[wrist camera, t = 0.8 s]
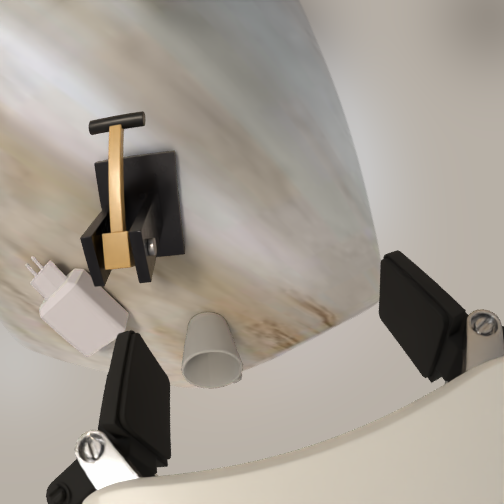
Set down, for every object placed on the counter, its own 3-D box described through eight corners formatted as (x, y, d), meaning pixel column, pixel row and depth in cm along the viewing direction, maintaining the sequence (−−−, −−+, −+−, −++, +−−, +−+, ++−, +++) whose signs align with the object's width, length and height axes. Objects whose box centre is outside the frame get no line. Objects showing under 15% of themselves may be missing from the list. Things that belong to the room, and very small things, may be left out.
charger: (54, 231, 31) (130, 310, 38) (21, 269, 32) (91, 337, 39) (39, 248, 27) (124, 333, 34) (7, 287, 28) (84, 359, 35)
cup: (210, 296, 39) (215, 340, 32) (253, 335, 44) (265, 378, 36) (170, 324, 40) (168, 370, 33) (215, 359, 45) (221, 402, 37)
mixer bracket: (97, 161, 29) (47, 193, 17) (175, 150, 30) (161, 175, 19) (115, 256, 34) (87, 323, 23) (185, 249, 35) (183, 317, 24)
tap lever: (95, 125, 23) (87, 116, 20) (146, 117, 23) (141, 106, 21) (99, 268, 23) (89, 271, 21) (153, 263, 24) (148, 265, 22)
